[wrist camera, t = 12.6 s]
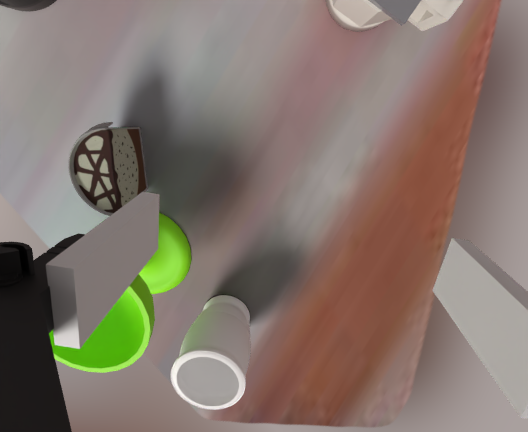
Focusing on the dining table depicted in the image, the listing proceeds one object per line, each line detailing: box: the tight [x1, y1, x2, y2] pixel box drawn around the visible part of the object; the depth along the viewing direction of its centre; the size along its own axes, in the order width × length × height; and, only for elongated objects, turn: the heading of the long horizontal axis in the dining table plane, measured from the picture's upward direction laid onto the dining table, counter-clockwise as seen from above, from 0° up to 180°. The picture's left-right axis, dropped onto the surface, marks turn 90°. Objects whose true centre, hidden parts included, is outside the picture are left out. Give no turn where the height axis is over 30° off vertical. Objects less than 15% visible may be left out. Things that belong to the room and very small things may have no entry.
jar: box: [171, 295, 251, 410], centre depth 54 cm, size 11×10×15 cm
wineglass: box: [49, 212, 191, 373], centre depth 50 cm, size 16×16×18 cm
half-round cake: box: [69, 122, 148, 216], centre depth 48 cm, size 12×6×10 cm, turn 0°
